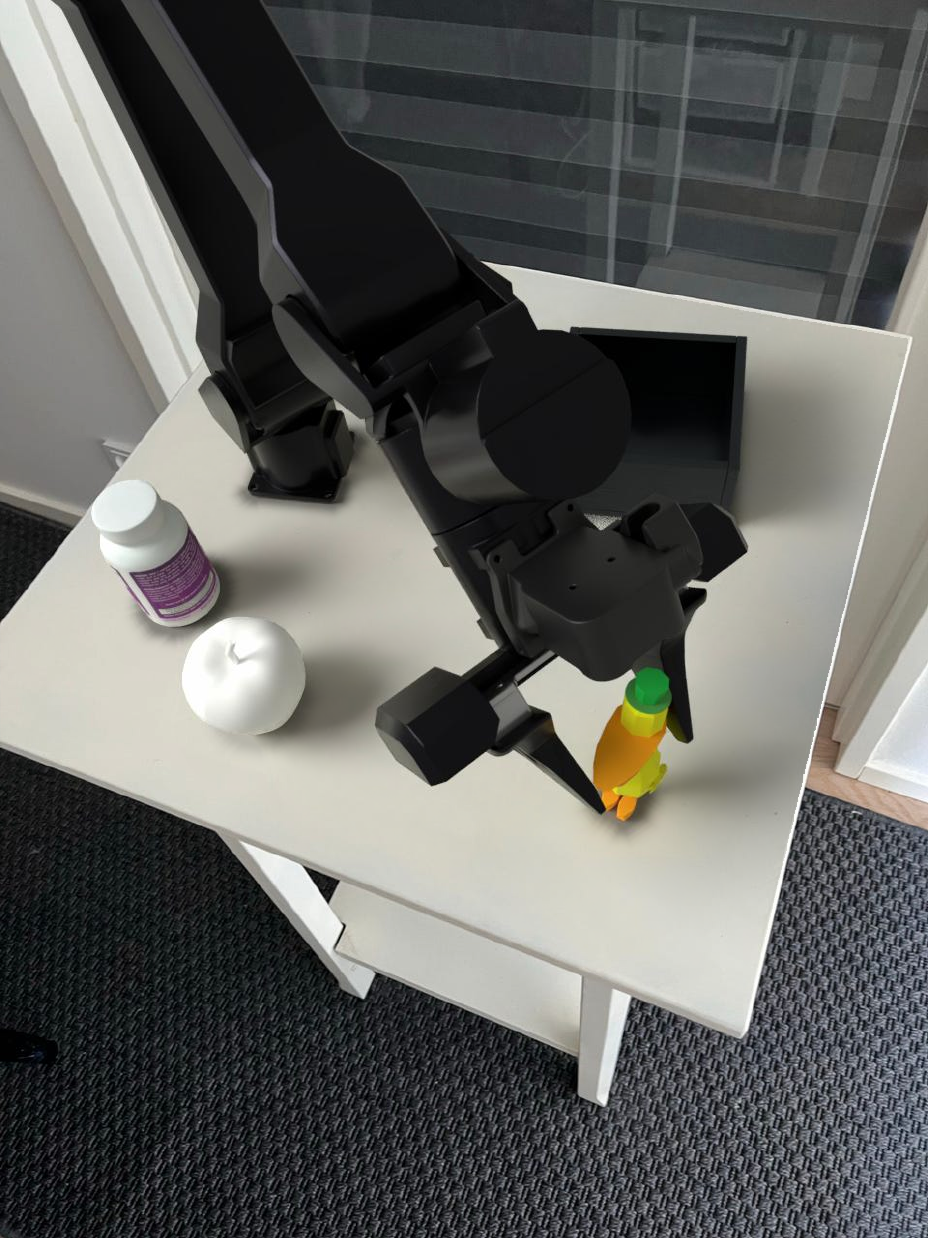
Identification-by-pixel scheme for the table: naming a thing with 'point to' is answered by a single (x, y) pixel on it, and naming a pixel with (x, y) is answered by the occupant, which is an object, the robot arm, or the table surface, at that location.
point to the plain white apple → (244, 676)
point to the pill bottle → (155, 553)
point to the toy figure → (633, 743)
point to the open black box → (674, 417)
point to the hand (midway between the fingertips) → (643, 775)
